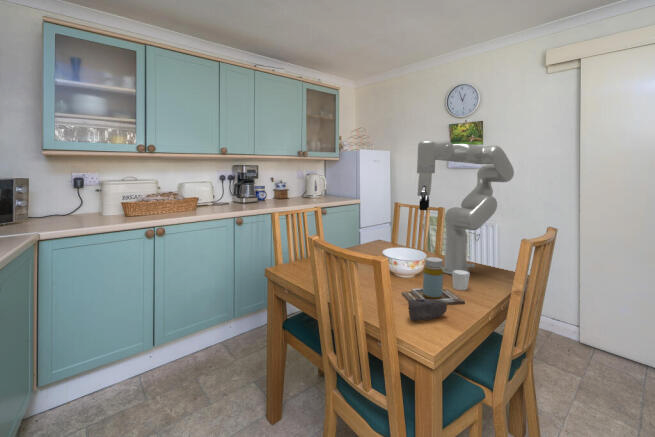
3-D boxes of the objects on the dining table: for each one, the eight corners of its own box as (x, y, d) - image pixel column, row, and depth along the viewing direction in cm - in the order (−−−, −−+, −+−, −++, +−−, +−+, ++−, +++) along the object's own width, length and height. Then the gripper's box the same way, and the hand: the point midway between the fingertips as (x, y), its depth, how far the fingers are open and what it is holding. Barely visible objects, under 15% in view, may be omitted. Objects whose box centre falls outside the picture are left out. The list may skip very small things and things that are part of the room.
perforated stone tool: (442, 312, 110) (443, 294, 109) (450, 319, 105) (452, 300, 104) (402, 317, 107) (403, 297, 106) (409, 324, 102) (410, 304, 101)
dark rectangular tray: (448, 291, 129) (448, 286, 129) (464, 303, 117) (465, 298, 117) (401, 294, 126) (402, 289, 126) (414, 307, 115) (414, 302, 114)
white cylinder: (472, 289, 131) (473, 273, 130) (458, 291, 129) (459, 275, 128) (461, 284, 137) (462, 268, 136) (447, 285, 135) (448, 270, 134)
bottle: (428, 301, 117) (430, 262, 115) (419, 293, 124) (421, 257, 122) (445, 299, 119) (447, 261, 116) (435, 292, 125) (437, 256, 123)
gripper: (419, 170, 147) (417, 206, 149) (414, 170, 131) (413, 210, 134) (436, 169, 144) (434, 206, 147) (433, 170, 128) (431, 211, 131)
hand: (424, 208), depth 140 cm, fingers open, 9 cm apart
